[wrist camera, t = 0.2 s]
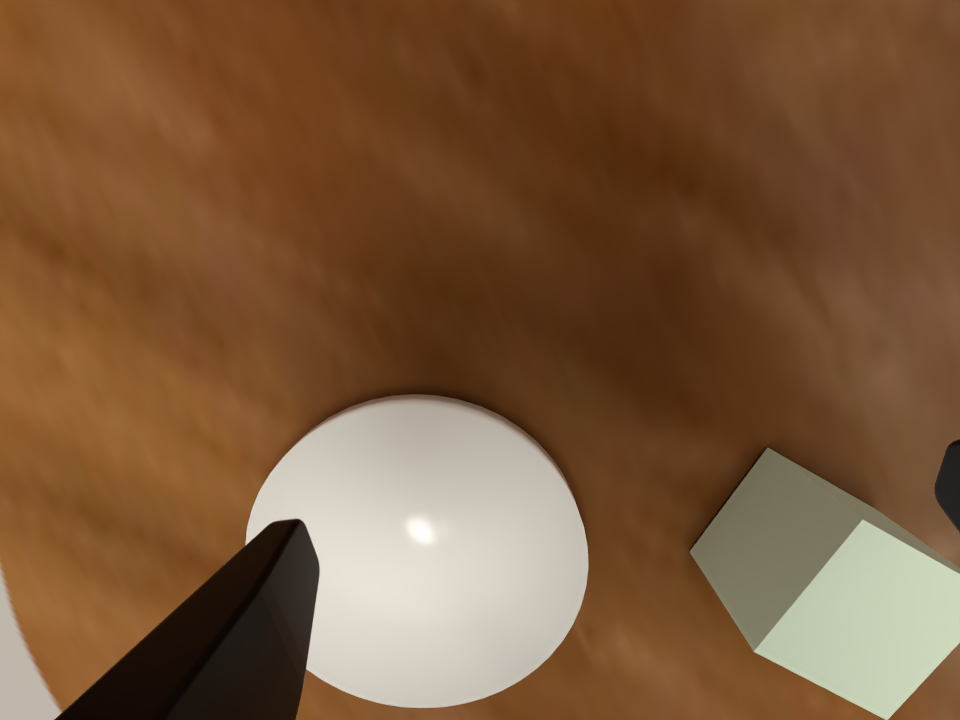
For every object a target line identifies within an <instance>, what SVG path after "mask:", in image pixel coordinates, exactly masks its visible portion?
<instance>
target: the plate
mask: <svg viewBox="0 0 960 720" xmlns="http://www.w3.org/2000/svg"><path fill="white" fill-rule="evenodd" d="M288 519H301V520H302V521H303V522H304V523H305V525H306V527H307V530H308V532H309V535H310V538H311V540H312V543H313V546H314V548H315V551H316V554H317V556H318V560H319V566H320V576H319V583H318V590H317V597H316V604H315V611H314V618H313V625H312V632H311V639H310V646H309V653H308V660H307V667H306V669H307V670H308V671H310V672H311V673H313V674H314V675H316V676H317V677H319V678H320V679H322V680H323V681H325V682H327V683H329V684H331V685H332V686H334V687H336V688H338V689H340V690H342V691H344V692H347V693H350V694H352V695H355V696H357V697H360V698H363V699H366V700H370V701H374V702H377V703H381V704H387V705H393V706H399V707H412V708H434V707H447V706H453V705H459V704H465V703H468V702H472V701H475V700H479V699H482V698H485V697H488V696H490V695H493V694H495V693H498V692H500V691H502V690H504V689H506V688H508V687H510V686H512V685H513V684H515V683H517V682H519V681H520V680H522V679H523V678H525V677H526V676H527V675H529V674H530V673H532V672H533V671H534V670H536V669H537V668H538V667H539V666H540V665H541V664H542V663H543V662H544V661H545V660H547V659H548V658H549V657H550V656H551V655H552V653H553V652H554V651H555V650H556V649H557V647H558V646H559V645H560V644H561V642H562V641H563V640H564V638H565V637H566V635H567V633H568V632H569V630H570V628H571V627H572V625H573V623H574V621H575V619H576V616H577V614H578V612H579V610H580V607H581V604H582V600H583V597H584V593H585V589H586V584H587V575H588V546H587V541H586V535H585V530H584V526H583V523H582V520H581V517H580V514H579V511H578V508H577V505H576V502H575V499H574V496H573V493H572V491H571V489H570V487H569V485H568V483H567V481H566V479H565V477H564V475H563V473H562V472H561V470H560V469H559V467H558V466H557V465H556V463H555V462H554V460H553V459H552V457H551V456H550V455H549V454H548V453H547V452H546V451H545V450H544V449H543V447H542V446H541V445H540V444H539V443H538V442H537V441H536V440H535V439H534V438H532V437H531V436H530V435H529V434H527V433H526V432H525V431H524V430H523V429H521V428H520V427H519V426H517V425H515V424H514V423H512V422H511V421H509V420H508V419H506V418H504V417H503V416H501V415H499V414H497V413H495V412H492V411H490V410H488V409H486V408H484V407H482V406H479V405H475V404H472V403H469V402H466V401H463V400H460V399H454V398H449V397H443V396H438V395H422V394H408V395H394V396H388V397H382V398H377V399H372V400H368V401H366V402H363V403H360V404H357V405H354V406H351V407H348V408H346V409H344V410H342V411H340V412H338V413H336V414H334V415H332V416H330V417H328V418H327V419H325V420H324V421H322V422H321V423H320V424H318V425H317V426H315V427H314V428H312V429H311V430H310V431H309V432H308V433H307V434H306V435H304V436H303V437H302V438H301V439H300V440H299V441H298V442H297V443H296V444H295V445H294V446H293V447H292V448H291V449H290V450H289V452H288V453H287V454H286V455H285V456H284V457H283V458H282V460H281V461H280V462H279V463H278V464H277V466H276V467H275V468H274V469H273V470H272V472H271V473H270V474H269V476H268V478H267V479H266V481H265V483H264V484H263V486H262V488H261V489H260V491H259V493H258V496H257V498H256V501H255V503H254V505H253V508H252V511H251V515H250V519H249V523H248V527H247V534H246V545H247V544H248V543H249V542H250V541H251V540H252V539H253V538H254V537H255V536H257V535H258V534H259V533H260V532H261V531H262V530H263V529H264V528H265V527H266V526H268V525H269V524H270V523H272V522H274V521H279V520H288ZM246 545H245V546H246Z"/></svg>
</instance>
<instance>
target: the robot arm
mask: <svg viewBox="0 0 960 720" xmlns="http://www.w3.org/2000/svg"><path fill="white" fill-rule="evenodd" d="M935 496H936V499H937V501H938V503H939V505H940V507H941V508H942V509H943V511H944V512H945V513H946V515H947V516H948V517H949V519H950V520H951V522H952V523H953V524H954V526H955V527H956V528H957V530H958V531H959V532H960V439H959V440H956V441H953V442H952V443H951V444H950V445H949V446H948V448H947V450H946V453H945V456H944V459H943V462H942V465H941V468H940V471H939V474H938V477H937V480H936V483H935ZM319 576H320V566H319V560H318V556H317V554H316V551H315V548H314V546H313V543H312V540H311V538H310V535H309V532H308V530H307V527H306V525H305V523H304V522H303V521H302V520H301V519H288V520H279V521H274V522H272V523H270V524H269V525H268V526H266V527H265V528H264V529H263V530H262V531H261V532H260V533H259V534H258V535H257V536H255V537H254V538H253V539H252V540H251V541H250V542H249V543H248V544H247V545H246V546H244V547H243V548H242V549H241V550H240V551H239V552H238V553H237V554H236V555H235V556H233V557H232V558H231V559H230V560H229V561H228V562H227V563H226V564H225V565H224V566H223V567H221V568H220V569H219V570H218V571H217V572H216V573H215V574H214V575H213V576H212V577H210V578H209V579H208V580H207V581H206V582H205V583H204V584H203V585H202V586H201V587H199V588H198V589H197V590H196V591H195V592H194V593H193V594H192V595H191V596H190V597H188V598H187V599H186V600H185V601H184V602H183V603H182V604H181V605H180V606H179V607H178V608H176V609H175V610H174V611H173V612H172V613H171V614H170V615H169V616H168V617H167V618H165V619H164V620H163V621H162V622H161V623H160V624H159V625H158V626H157V627H156V628H154V629H153V630H152V631H151V632H150V633H149V634H148V635H147V636H146V637H145V638H143V639H142V640H141V641H140V642H139V643H138V644H137V645H136V646H135V647H134V648H133V649H131V650H130V651H129V652H128V653H127V654H126V655H125V656H124V657H123V658H122V659H120V660H119V661H118V662H117V663H116V664H115V665H114V666H113V667H112V668H111V669H109V670H108V671H107V672H106V673H105V674H104V675H103V676H102V677H101V678H100V679H98V680H97V681H96V682H95V683H94V684H93V685H92V686H91V687H90V688H89V689H88V690H86V691H85V692H84V693H83V694H82V695H81V696H80V697H79V698H78V699H77V700H75V701H74V702H73V703H72V704H71V705H70V706H69V707H68V708H67V709H66V710H64V711H63V712H62V713H61V714H60V715H59V716H58V717H57V718H56V719H55V720H295V719H296V715H297V711H298V707H299V703H300V698H301V694H302V689H303V684H304V678H305V673H306V667H307V660H308V653H309V646H310V639H311V632H312V625H313V618H314V611H315V604H316V597H317V590H318V583H319Z"/></svg>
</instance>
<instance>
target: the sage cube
mask: <svg viewBox="0 0 960 720" xmlns="http://www.w3.org/2000/svg"><path fill="white" fill-rule="evenodd" d="M690 553H691V555H692V556H693V558H694V560H695V561H696V563H697V564H698V566H699V567H700V569H701V570H702V572H703V574H704V575H705V577H706V578H707V580H708V581H709V583H710V584H711V586H712V587H713V589H714V591H715V592H716V594H717V595H718V597H719V598H720V600H721V601H722V603H723V605H724V606H725V608H726V609H727V611H728V612H729V614H730V615H731V617H732V619H733V620H734V622H735V623H736V625H737V626H738V628H739V629H740V631H741V633H742V634H743V636H744V637H745V639H746V640H747V642H748V643H749V645H750V647H751V648H752V650H753V651H754V652H755V653H757V654H759V655H761V656H763V657H765V658H767V659H769V660H771V661H773V662H775V663H777V664H779V665H781V666H783V667H785V668H786V669H788V670H790V671H792V672H794V673H796V674H798V675H800V676H802V677H804V678H806V679H808V680H810V681H812V682H814V683H816V684H817V685H819V686H821V687H823V688H825V689H827V690H829V691H831V692H833V693H835V694H837V695H839V696H841V697H843V698H845V699H847V700H848V701H850V702H852V703H854V704H856V705H858V706H860V707H862V708H864V709H866V710H868V711H870V712H872V713H874V714H876V715H878V716H879V717H881V718H883V719H885V720H888V719H889V718H890V717H891V716H892V714H893V713H894V712H895V711H896V710H897V709H898V708H899V707H900V706H901V705H902V704H903V703H904V702H905V701H906V699H907V698H908V697H909V696H910V695H911V694H912V693H913V692H914V691H915V690H916V689H917V688H918V687H919V686H920V684H921V683H922V682H923V681H924V680H925V679H926V678H927V677H928V676H929V675H930V674H931V673H932V672H933V670H934V669H935V668H936V667H937V666H938V665H939V664H940V663H941V662H942V661H943V660H944V659H945V658H946V657H947V655H948V654H949V653H950V652H951V651H952V650H953V649H954V648H955V647H956V646H957V645H958V644H959V643H960V568H959V567H957V566H956V565H954V564H953V563H951V562H950V561H949V560H947V559H946V558H944V557H943V556H942V555H940V554H939V553H937V552H936V551H934V550H933V549H932V548H930V547H929V546H927V545H926V544H924V543H923V542H922V541H920V540H919V539H917V538H916V537H915V536H913V535H912V534H910V533H909V532H907V531H906V530H905V529H903V528H902V527H900V526H899V525H897V524H896V523H895V522H893V521H892V520H890V519H889V518H888V517H886V516H885V515H883V514H882V513H880V512H879V511H878V510H876V509H875V508H873V507H871V506H869V505H868V504H866V503H864V502H862V501H861V500H859V499H857V498H855V497H854V496H852V495H850V494H848V493H847V492H845V491H843V490H841V489H840V488H838V487H836V486H834V485H833V484H831V483H829V482H827V481H826V480H824V479H822V478H820V477H819V476H817V475H815V474H813V473H812V472H810V471H808V470H806V469H804V468H803V467H801V466H799V465H797V464H796V463H794V462H792V461H790V460H789V459H787V458H785V457H783V456H782V455H780V454H778V453H776V452H775V451H773V450H771V449H769V448H768V447H767V449H766V450H765V451H764V453H763V454H762V455H761V457H760V458H759V459H758V461H757V462H756V463H755V465H754V466H753V467H752V469H751V470H750V471H749V473H748V474H747V475H746V477H745V478H744V479H743V481H742V482H741V484H740V485H739V486H738V488H737V489H736V490H735V492H734V493H733V494H732V496H731V497H730V498H729V500H728V501H727V502H726V504H725V505H724V506H723V508H722V509H721V510H720V512H719V513H718V514H717V516H716V517H715V518H714V520H713V521H712V522H711V524H710V525H709V526H708V528H707V529H706V530H705V532H704V533H703V534H702V536H701V537H700V538H699V540H698V541H697V542H696V544H695V545H694V546H693V548H692V549H691V550H690Z"/></svg>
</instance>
